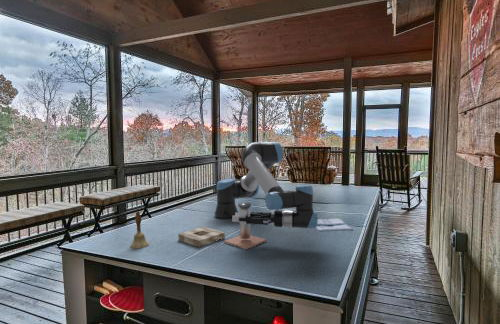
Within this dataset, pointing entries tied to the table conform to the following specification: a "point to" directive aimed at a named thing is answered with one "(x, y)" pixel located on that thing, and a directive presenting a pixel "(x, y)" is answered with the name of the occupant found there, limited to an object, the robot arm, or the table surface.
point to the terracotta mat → (245, 241)
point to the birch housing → (201, 236)
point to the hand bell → (139, 235)
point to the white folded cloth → (335, 225)
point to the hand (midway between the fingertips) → (234, 217)
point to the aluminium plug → (244, 228)
